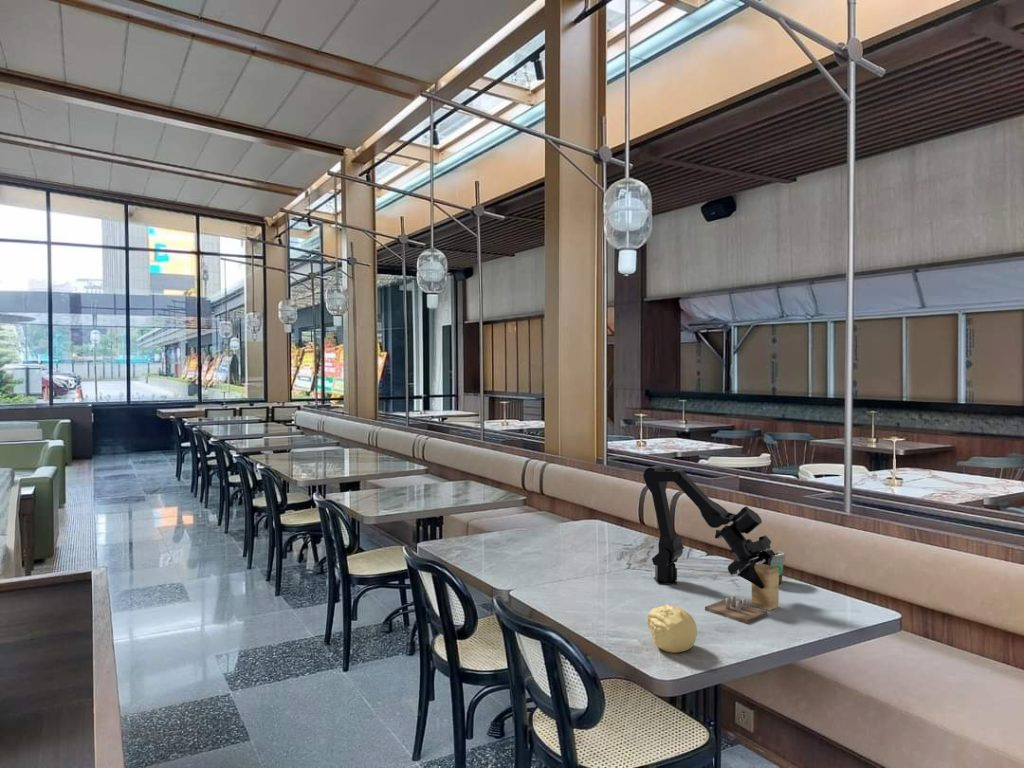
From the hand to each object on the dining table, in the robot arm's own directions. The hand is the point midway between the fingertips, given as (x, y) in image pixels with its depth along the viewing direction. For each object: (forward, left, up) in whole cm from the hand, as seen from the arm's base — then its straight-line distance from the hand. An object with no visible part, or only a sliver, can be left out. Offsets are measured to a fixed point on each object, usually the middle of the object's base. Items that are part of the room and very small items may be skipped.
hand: (769, 585), depth 201 cm
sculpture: (-38, -28, -7) cm, 47 cm away
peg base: (-12, -4, -7) cm, 14 cm away
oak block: (-1, +1, -7) cm, 7 cm away
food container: (+11, +22, -7) cm, 26 cm away
